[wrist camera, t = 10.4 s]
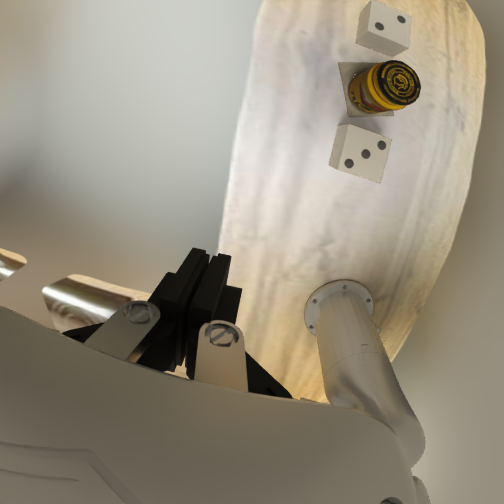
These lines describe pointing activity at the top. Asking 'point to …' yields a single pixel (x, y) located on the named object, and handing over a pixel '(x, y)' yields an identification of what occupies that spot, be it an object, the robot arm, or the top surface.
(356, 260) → the top surface
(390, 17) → the two dot block
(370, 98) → the condiment
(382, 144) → the three dot block
